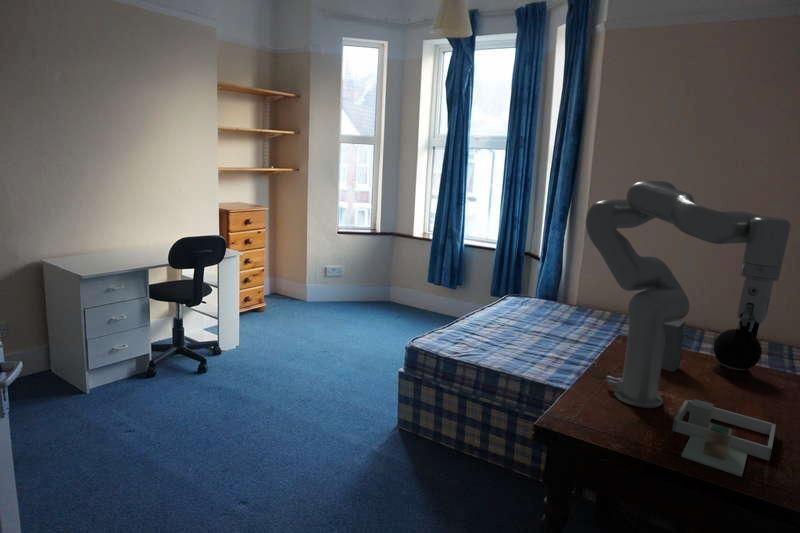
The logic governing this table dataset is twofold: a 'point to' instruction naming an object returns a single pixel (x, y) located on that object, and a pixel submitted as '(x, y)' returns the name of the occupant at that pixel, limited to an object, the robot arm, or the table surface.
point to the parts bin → (733, 419)
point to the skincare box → (672, 345)
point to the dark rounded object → (735, 357)
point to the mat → (731, 464)
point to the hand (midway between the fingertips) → (744, 341)
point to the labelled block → (717, 441)
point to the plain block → (700, 413)
